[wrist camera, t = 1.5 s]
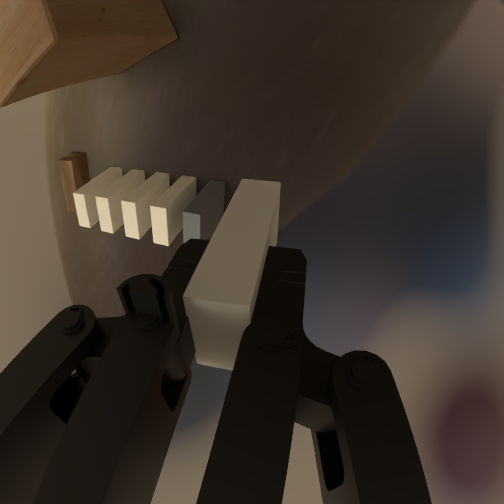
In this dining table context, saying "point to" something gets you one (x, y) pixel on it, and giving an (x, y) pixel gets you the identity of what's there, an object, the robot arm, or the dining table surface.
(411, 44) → the dining table surface
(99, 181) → the domino
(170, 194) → the domino
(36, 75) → the wooden block
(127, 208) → the domino
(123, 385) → the robot arm
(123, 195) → the domino
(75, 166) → the end block
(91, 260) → the dining table surface
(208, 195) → the domino
